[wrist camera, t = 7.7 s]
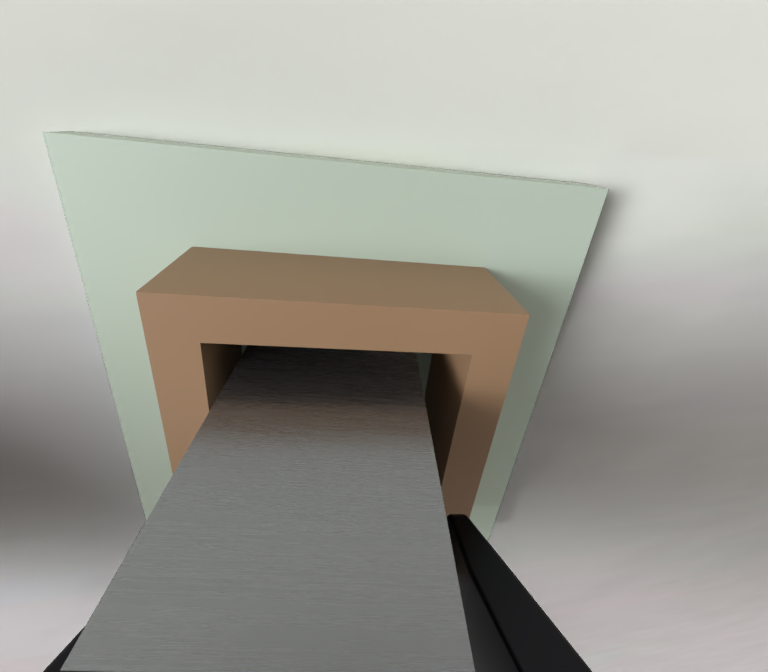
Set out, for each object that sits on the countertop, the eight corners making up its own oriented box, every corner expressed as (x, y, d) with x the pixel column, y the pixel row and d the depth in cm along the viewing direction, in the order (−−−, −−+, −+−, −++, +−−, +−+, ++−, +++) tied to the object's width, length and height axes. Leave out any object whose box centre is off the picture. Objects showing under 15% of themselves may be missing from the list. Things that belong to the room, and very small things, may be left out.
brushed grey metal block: (271, 473, 14) (160, 851, 6) (265, 314, 11) (60, 670, 4) (388, 480, 14) (402, 849, 7) (411, 326, 11) (477, 679, 4)
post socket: (164, 525, 16) (112, 641, 12) (70, 131, 9) (-96, 135, 6) (479, 523, 17) (514, 624, 14) (587, 183, 11) (702, 213, 7)
